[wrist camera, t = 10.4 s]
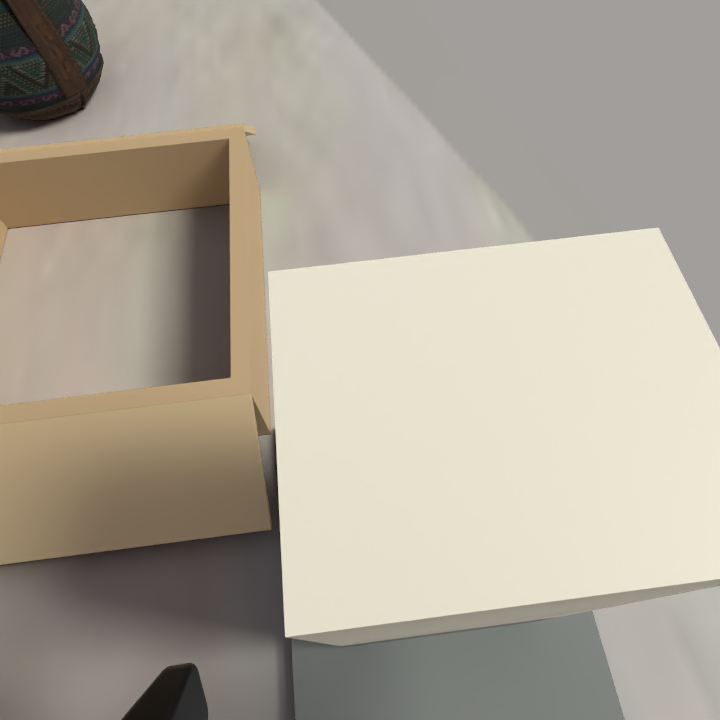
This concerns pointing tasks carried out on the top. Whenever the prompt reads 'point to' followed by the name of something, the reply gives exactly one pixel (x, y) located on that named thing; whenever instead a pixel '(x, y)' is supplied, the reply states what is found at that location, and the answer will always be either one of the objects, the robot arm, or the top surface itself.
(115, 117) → the top surface
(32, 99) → the mate gourd
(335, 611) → the box
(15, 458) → the tan rectangular open frame
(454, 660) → the mat
